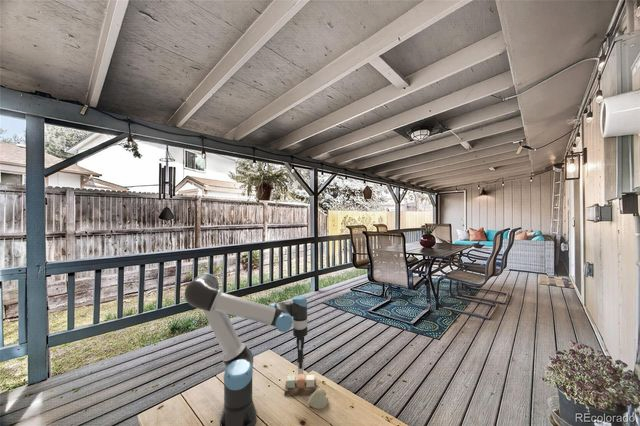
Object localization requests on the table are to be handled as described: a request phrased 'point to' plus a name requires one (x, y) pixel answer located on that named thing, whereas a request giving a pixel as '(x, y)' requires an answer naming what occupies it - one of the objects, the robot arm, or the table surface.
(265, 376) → the table surface
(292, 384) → the button sage
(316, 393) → the grey rounded lump
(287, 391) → the walnut board
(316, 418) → the table surface
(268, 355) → the table surface
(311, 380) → the button cream
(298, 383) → the button terracotta
